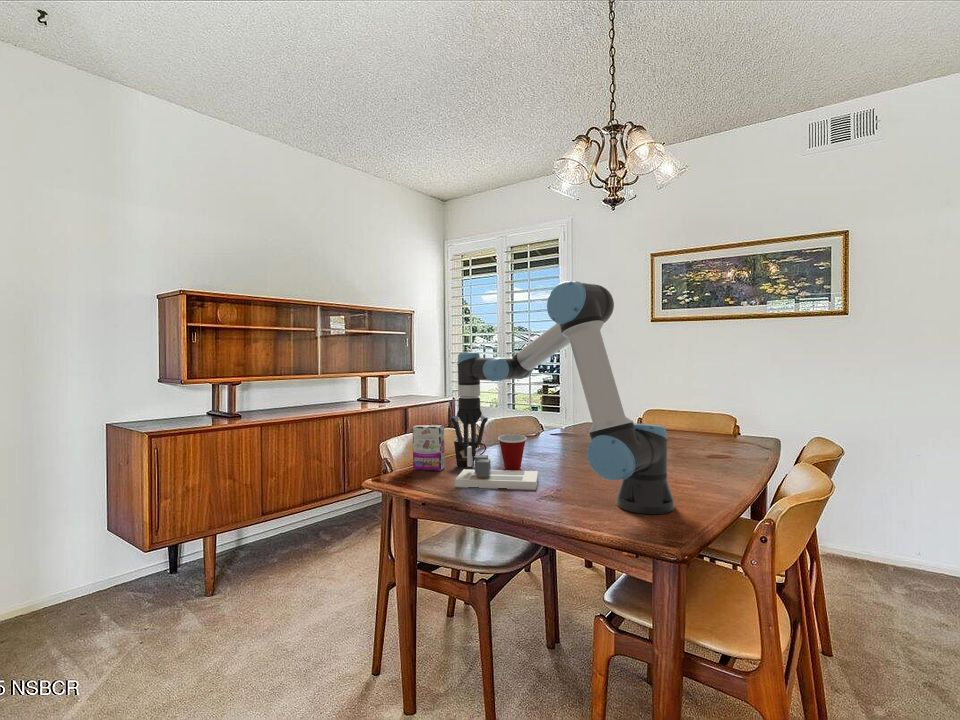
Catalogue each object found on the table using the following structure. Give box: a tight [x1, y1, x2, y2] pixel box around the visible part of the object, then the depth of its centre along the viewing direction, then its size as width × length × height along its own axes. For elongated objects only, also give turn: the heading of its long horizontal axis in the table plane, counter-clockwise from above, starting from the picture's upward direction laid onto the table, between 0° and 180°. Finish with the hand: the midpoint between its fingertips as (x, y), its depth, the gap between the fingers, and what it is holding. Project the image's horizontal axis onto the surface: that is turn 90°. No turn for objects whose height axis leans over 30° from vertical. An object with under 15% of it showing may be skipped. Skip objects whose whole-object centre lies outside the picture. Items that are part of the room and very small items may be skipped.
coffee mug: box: [453, 437, 487, 468], centre depth 190 cm, size 12×9×10 cm
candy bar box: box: [411, 424, 446, 472], centre depth 186 cm, size 11×5×16 cm, turn 76°
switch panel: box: [454, 468, 539, 491], centre depth 166 cm, size 14×26×3 cm, turn 81°
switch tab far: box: [474, 454, 489, 472], centre depth 170 cm, size 4×4×5 cm
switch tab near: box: [477, 459, 492, 478], centre depth 163 cm, size 4×4×5 cm
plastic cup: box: [497, 434, 528, 471], centre depth 185 cm, size 11×11×12 cm
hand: (470, 465), depth 171 cm, fingers closed
